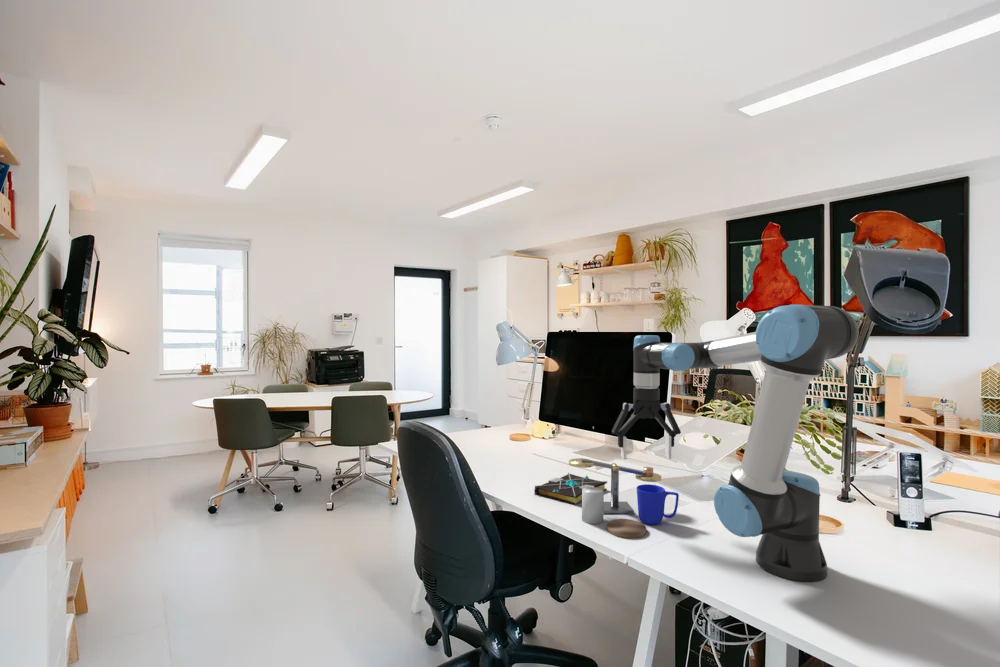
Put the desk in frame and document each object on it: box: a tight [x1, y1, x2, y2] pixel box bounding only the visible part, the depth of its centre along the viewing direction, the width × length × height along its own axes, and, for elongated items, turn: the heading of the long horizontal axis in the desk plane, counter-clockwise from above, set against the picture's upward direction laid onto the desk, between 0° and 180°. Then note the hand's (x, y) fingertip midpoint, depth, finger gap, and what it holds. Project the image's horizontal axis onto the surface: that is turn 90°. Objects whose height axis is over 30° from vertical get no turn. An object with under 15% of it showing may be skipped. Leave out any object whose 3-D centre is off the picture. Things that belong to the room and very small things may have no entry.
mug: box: [636, 483, 680, 526], centre depth 153 cm, size 8×12×10 cm
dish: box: [606, 518, 647, 539], centre depth 147 cm, size 11×11×1 cm
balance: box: [568, 457, 662, 515], centre depth 164 cm, size 8×30×16 cm, turn 92°
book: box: [533, 471, 608, 506], centre depth 181 cm, size 22×17×5 cm
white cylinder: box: [581, 487, 605, 525], centre depth 155 cm, size 6×6×9 cm
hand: (645, 458), depth 153 cm, fingers open, 13 cm apart
